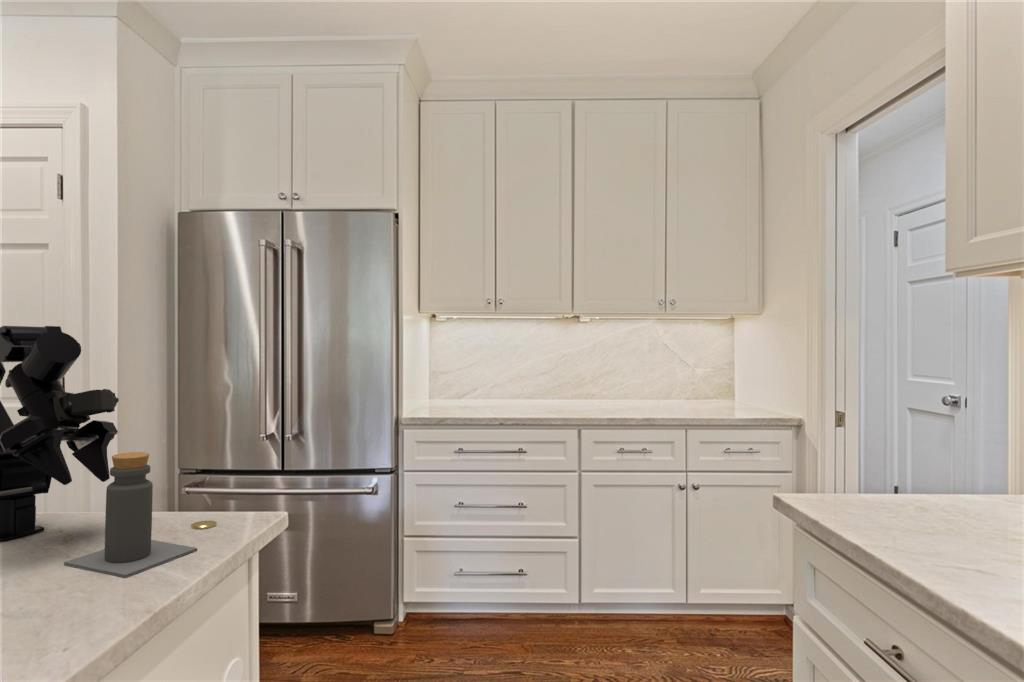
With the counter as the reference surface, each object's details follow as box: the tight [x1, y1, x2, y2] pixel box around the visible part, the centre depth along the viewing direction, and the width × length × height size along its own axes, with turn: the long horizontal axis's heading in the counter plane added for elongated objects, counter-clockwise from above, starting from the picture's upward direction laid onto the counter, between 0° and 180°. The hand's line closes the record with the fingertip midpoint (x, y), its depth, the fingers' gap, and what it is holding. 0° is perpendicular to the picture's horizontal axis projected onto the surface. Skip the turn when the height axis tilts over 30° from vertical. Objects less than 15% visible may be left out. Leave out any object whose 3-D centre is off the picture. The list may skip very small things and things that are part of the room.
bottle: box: [104, 451, 154, 563], centre depth 91 cm, size 6×6×15 cm
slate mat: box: [63, 539, 198, 579], centre depth 92 cm, size 12×12×1 cm
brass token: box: [190, 520, 218, 530], centre depth 108 cm, size 4×4×1 cm
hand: (88, 481), depth 95 cm, fingers open, 9 cm apart
